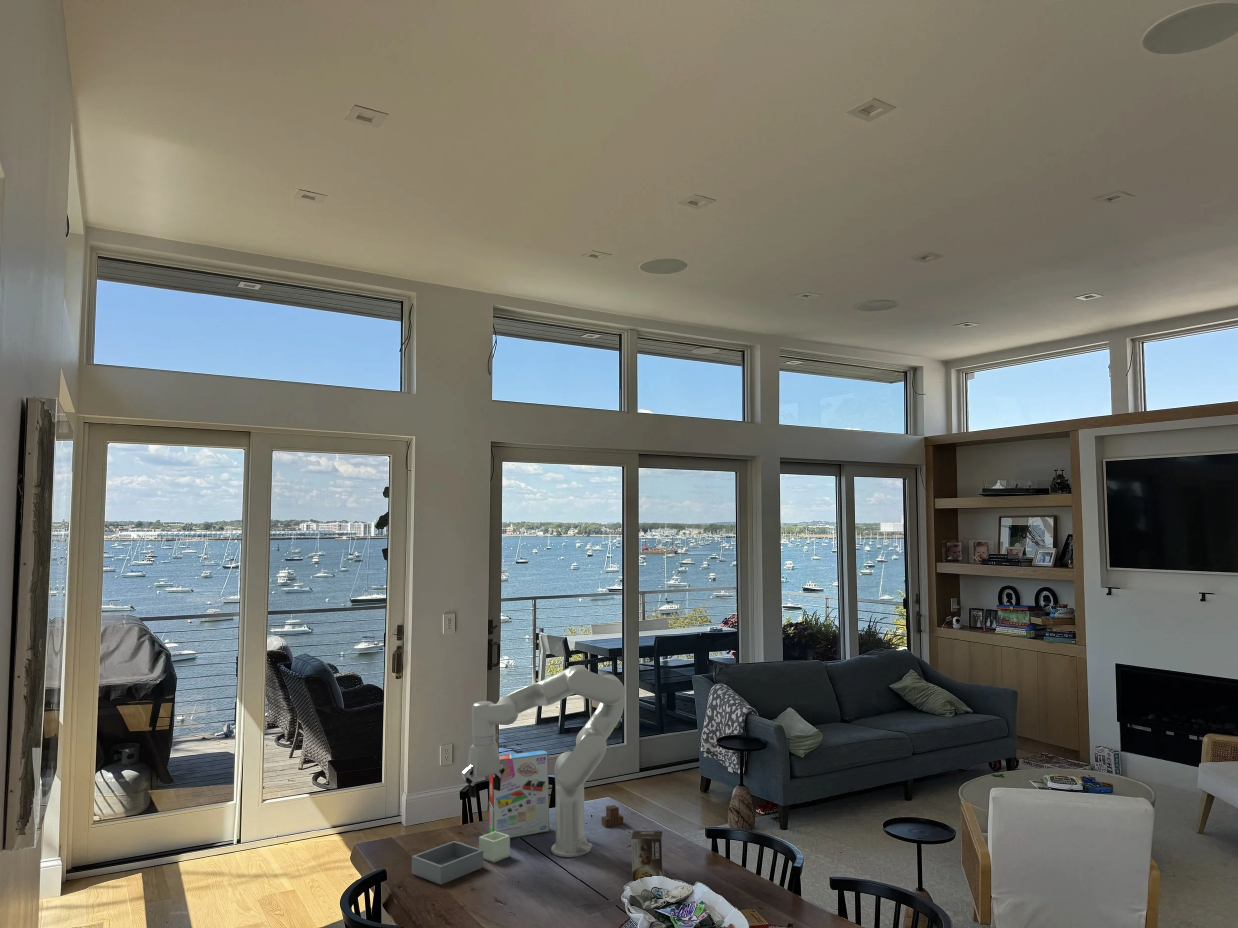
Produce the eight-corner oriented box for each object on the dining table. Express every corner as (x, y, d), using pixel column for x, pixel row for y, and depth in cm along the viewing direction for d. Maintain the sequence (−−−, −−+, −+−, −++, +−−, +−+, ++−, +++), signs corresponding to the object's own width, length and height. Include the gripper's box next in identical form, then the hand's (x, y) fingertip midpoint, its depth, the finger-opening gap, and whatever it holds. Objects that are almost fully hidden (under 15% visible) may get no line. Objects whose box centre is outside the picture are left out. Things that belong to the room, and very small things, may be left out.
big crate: (483, 868, 265) (483, 850, 266) (440, 885, 252) (440, 866, 253) (454, 857, 274) (454, 840, 275) (411, 874, 261) (411, 856, 261)
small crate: (509, 855, 274) (509, 835, 275) (493, 862, 269) (493, 841, 269) (495, 851, 279) (495, 830, 279) (479, 857, 273) (479, 836, 274)
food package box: (664, 886, 248) (663, 830, 250) (663, 896, 242) (662, 838, 243) (633, 886, 249) (632, 829, 251) (631, 895, 243) (631, 837, 244)
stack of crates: (603, 837, 292) (603, 816, 293) (587, 824, 306) (587, 804, 306) (642, 830, 299) (642, 810, 299) (624, 818, 312) (624, 799, 313)
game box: (544, 827, 302) (544, 749, 304) (550, 831, 296) (549, 752, 299) (488, 836, 293) (488, 756, 296) (492, 841, 288) (492, 759, 291)
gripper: (498, 733, 286) (499, 785, 285) (455, 743, 274) (456, 797, 273) (511, 736, 281) (512, 789, 280) (468, 747, 269) (469, 802, 267)
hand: (484, 793), depth 276 cm, fingers open, 9 cm apart
